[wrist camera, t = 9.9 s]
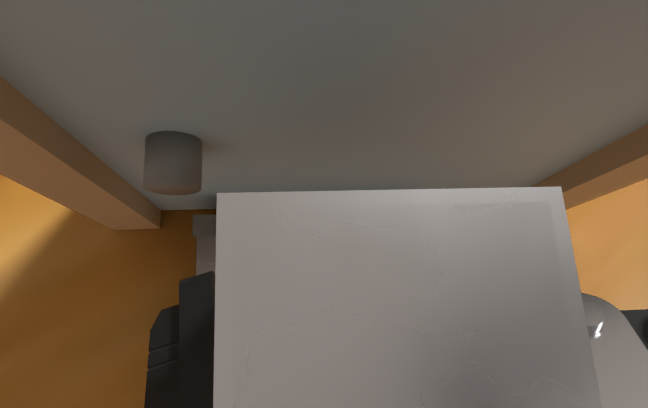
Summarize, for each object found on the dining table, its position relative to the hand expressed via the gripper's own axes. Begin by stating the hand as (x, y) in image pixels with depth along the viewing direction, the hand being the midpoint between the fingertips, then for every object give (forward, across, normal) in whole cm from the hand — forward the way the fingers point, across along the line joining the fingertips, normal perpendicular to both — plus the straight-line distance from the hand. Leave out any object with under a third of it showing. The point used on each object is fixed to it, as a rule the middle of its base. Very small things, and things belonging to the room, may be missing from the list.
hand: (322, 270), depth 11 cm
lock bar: (+2, 0, +5) cm, 5 cm away
